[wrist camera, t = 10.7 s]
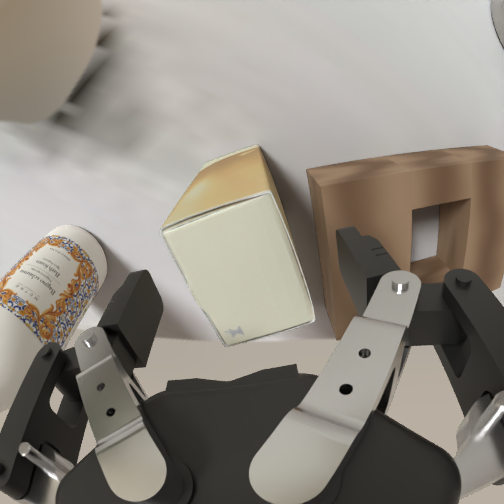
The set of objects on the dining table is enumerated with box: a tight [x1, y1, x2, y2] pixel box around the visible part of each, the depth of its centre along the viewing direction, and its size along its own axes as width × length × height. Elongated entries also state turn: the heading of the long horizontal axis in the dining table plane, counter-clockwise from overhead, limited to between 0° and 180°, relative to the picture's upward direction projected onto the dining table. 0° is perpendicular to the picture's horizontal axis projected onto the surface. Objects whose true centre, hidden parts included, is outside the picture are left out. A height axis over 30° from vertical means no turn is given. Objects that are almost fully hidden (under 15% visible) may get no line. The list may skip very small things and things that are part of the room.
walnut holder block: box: [306, 145, 504, 340], centre depth 22 cm, size 18×13×4 cm
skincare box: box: [160, 145, 316, 347], centre depth 17 cm, size 6×4×12 cm
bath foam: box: [0, 225, 107, 412], centre depth 15 cm, size 7×7×20 cm
